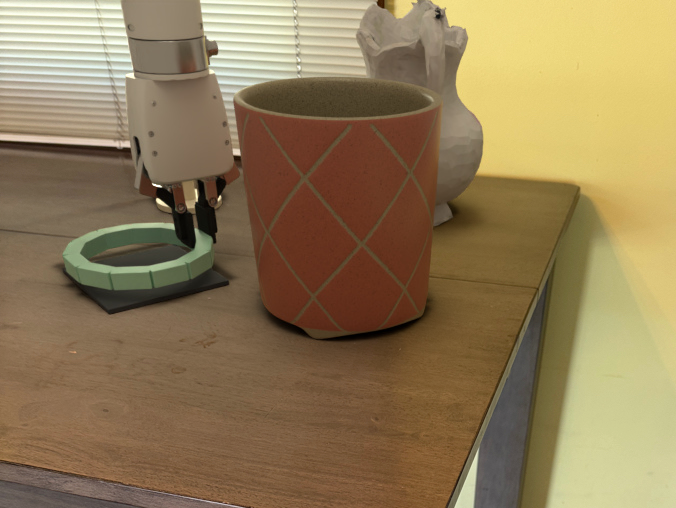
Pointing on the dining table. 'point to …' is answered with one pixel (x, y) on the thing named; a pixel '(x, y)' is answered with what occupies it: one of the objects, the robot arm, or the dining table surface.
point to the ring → (137, 275)
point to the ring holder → (186, 198)
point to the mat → (140, 297)
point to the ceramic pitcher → (428, 84)
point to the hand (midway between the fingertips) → (198, 241)
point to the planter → (341, 198)
